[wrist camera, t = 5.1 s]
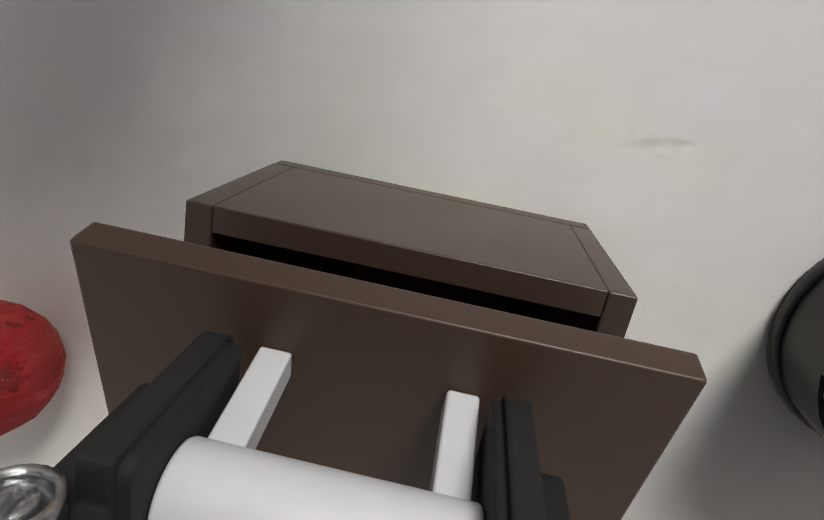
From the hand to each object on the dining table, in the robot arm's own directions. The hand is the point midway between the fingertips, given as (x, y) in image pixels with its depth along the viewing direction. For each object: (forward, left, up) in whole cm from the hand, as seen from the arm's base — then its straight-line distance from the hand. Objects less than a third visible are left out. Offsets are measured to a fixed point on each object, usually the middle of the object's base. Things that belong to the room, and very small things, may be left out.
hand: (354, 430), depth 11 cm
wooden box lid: (+5, +1, -3) cm, 5 cm away
